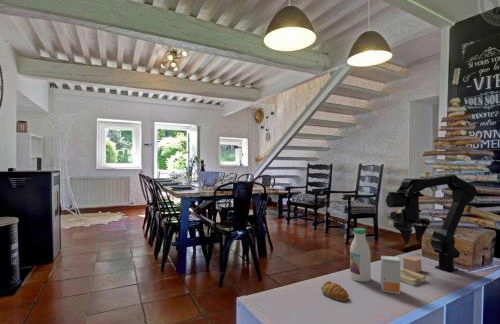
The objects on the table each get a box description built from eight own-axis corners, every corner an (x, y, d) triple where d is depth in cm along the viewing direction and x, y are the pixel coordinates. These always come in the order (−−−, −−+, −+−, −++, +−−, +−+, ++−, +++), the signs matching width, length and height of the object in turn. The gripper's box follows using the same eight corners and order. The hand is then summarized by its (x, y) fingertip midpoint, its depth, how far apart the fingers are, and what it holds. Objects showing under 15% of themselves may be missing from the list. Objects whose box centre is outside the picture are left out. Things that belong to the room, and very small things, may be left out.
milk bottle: (367, 275, 116) (366, 227, 116) (373, 282, 108) (373, 231, 108) (348, 274, 116) (347, 226, 117) (353, 282, 109) (352, 230, 109)
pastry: (353, 299, 95) (353, 288, 95) (340, 304, 91) (340, 292, 91) (332, 289, 103) (332, 278, 103) (319, 293, 99) (319, 282, 99)
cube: (410, 267, 125) (409, 255, 125) (421, 270, 121) (421, 259, 121) (403, 269, 123) (403, 257, 123) (415, 272, 118) (414, 261, 118)
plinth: (403, 273, 118) (403, 268, 118) (425, 280, 110) (425, 275, 110) (390, 277, 113) (390, 272, 113) (412, 285, 105) (412, 279, 105)
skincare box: (381, 292, 100) (381, 258, 100) (380, 287, 104) (380, 255, 104) (400, 294, 98) (400, 260, 98) (399, 289, 102) (398, 256, 102)
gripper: (405, 203, 134) (406, 236, 133) (381, 206, 124) (382, 241, 124) (430, 206, 124) (431, 241, 124) (406, 209, 115) (407, 247, 114)
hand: (412, 242), depth 122 cm, fingers open, 9 cm apart
